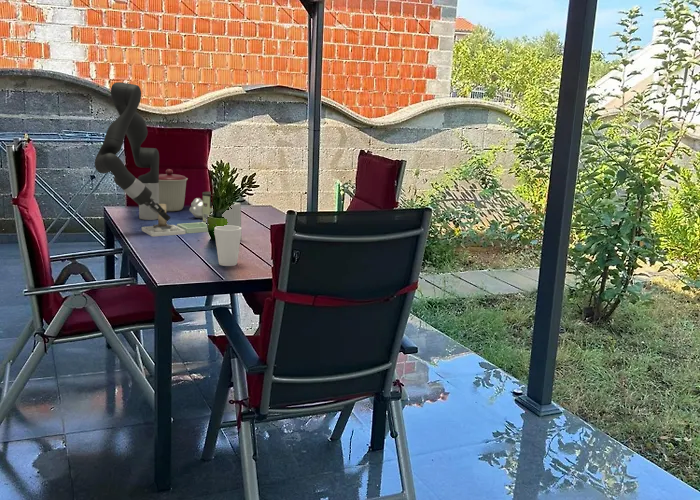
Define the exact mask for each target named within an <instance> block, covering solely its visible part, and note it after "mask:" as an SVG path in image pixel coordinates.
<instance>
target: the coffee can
mask: <svg viewBox="0 0 700 500" xmlns="http://www.w3.org/2000/svg"><path fill="white" fill-rule="evenodd" d="M202 201H203V218H202V222H204V223H206V218H207V216H208V215H210V214H211V213H212V211H213V209H212V202H211V191H209V190H208V191H203V192H202Z"/></svg>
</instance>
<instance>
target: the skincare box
mask: <svg viewBox="0 0 700 500" xmlns="http://www.w3.org/2000/svg"><path fill="white" fill-rule="evenodd" d="M234 203H235V204H234V205H231V206H230V207H231V208H232V209H231V208H230V207H229V210H226V211H225V212H224V213H223V214H222V217H224V218H225V219H227V222H228V223H227V225H231V226H239V227H241V228H242V206H241V205H242V204H241V202H234ZM242 236H243V235H242V234H241V238H240V241H241V240H242V239H243V238H242Z"/></svg>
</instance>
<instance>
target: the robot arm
mask: <svg viewBox="0 0 700 500" xmlns="http://www.w3.org/2000/svg"><path fill="white" fill-rule="evenodd" d="M141 89H142V88H141V86H139V85H138V84H133V83H126V82H121V81H118V82H114V83H113V84H112V85H111V88H110V96H111V100H112V103H113V105H114V107H115V109H116V111H117V112H118V116H119V117H117V118H116V119H115V120H113V122H112V123H111V124H109V126H108V128H107V130H106V132H105V136H104V140H103V144H101V147H100V149H99V150H98V152H97V154H96V156H95V158H94V168H95V170H96V171H97V172H98V173H100V174H107V173H111V174H112V175H113V181H114V183H115V184H116V185H117V186H118V187H119V188H120V189H122V190H123V192H124V193H125V195H127V196H128V197H129V198H131V200H132V201H134V202H135V203H136V204H137V205H138V209H139V210H138V215H139V217H138V219H140V220H146V221H148V220H149V221H151V220H152V221H153V220H155V221H156V220H158V214H159V215H160V216H162V217H163V218H164V219H165V220H166V221H167V222H169V220H170V219H171V216H170V215H168V214H167V212H166V213H165V210H163V208H162V207H161V206H160V205H159V175H160V172H159V171H160V153H159V150H158V149H157V148H156V147H155V148H154V147H141V145H142V144H143V143H144V142H145V141H146V138H147V136H148V132H149V131H148V128H147V124H146V122H145V120H144V117H142V115H141V114H139V112H138V111H137V110H138V108H139V105H140V103H141V100H142V90H141ZM125 137H127V139H128V142H129V144H130V149H131V152H132V157H133V161H134V164H135V166H136V167H138V168H140V169H141V168H144V169H145V168H147V169H150V171H148V172H146V173H145V174H141V175H139V176H138V177H137V178H136V177H135V175H133V174H132V173H131V172H130V171H129V170H128V168H127V166H126V165H125V164H124V162H123V161H122V160H121V158H120V157H119V156H118V155H117V154H118V153H119V152H121V149H122V147H123V144H124V140H125ZM160 210H162V211H161V212H159V211H160Z"/></svg>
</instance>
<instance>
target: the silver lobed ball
mask: <svg viewBox="0 0 700 500" xmlns="http://www.w3.org/2000/svg"><path fill="white" fill-rule="evenodd" d="M190 205H191V206H190V207H189V212H190V213H191V214H192V216H193V217H195V218H196V219H200V220H201V219H202V220H203V199H202V198H200V197H196V198H194V199H193V201H192V202H191V204H190Z"/></svg>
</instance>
